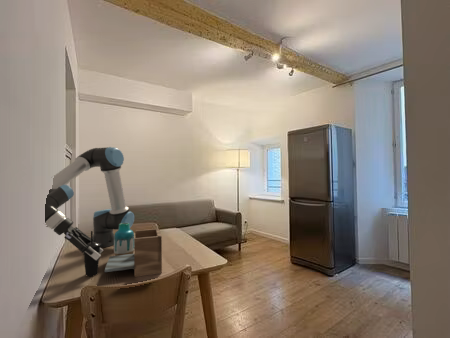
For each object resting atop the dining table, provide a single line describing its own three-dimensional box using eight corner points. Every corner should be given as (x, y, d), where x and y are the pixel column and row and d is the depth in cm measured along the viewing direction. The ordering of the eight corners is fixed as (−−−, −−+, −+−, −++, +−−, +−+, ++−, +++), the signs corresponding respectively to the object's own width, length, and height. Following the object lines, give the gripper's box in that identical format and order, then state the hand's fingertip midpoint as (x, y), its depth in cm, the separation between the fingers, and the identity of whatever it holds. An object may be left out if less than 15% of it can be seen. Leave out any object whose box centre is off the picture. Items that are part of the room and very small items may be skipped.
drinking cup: (87, 271, 117) (87, 229, 118) (103, 270, 118) (103, 229, 118) (78, 278, 109) (79, 233, 110) (96, 277, 110) (96, 232, 111)
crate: (109, 266, 123) (109, 232, 124) (159, 260, 131) (158, 228, 131) (104, 281, 106) (104, 241, 107) (161, 272, 114) (161, 236, 114)
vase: (114, 263, 128) (114, 226, 128) (113, 257, 137) (113, 223, 137) (135, 259, 132) (135, 224, 133) (133, 254, 142) (133, 221, 142)
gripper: (60, 225, 118) (97, 254, 123) (44, 235, 99) (89, 269, 104) (72, 213, 120) (108, 243, 125) (59, 221, 101) (102, 255, 106)
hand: (99, 255), depth 115 cm, fingers closed on drinking cup, 7 cm apart
